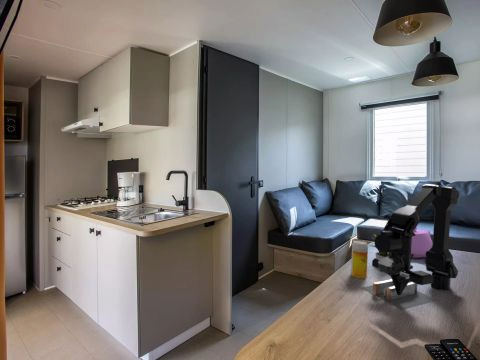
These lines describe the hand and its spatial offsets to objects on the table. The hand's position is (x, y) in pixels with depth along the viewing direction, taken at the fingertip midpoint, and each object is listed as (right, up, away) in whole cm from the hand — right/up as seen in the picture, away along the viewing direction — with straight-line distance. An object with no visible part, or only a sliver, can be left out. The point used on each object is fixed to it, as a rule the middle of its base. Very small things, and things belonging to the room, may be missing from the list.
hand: (398, 294), depth 95 cm
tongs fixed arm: (0, -2, +7) cm, 7 cm away
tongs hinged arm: (+3, -2, +5) cm, 6 cm away
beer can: (-4, -2, +23) cm, 23 cm away
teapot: (+37, -1, +55) cm, 66 cm away
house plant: (+12, -2, +33) cm, 35 cm away
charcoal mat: (+3, -3, +6) cm, 7 cm away
